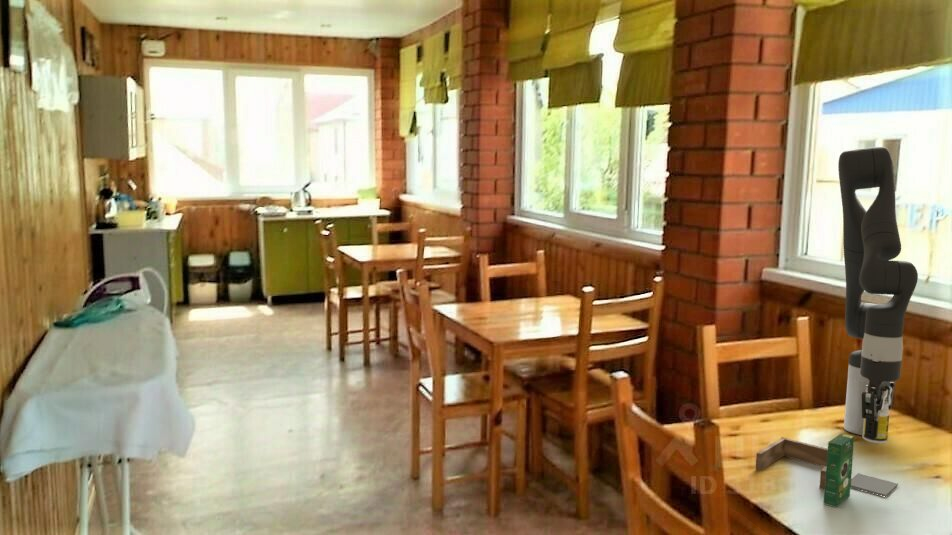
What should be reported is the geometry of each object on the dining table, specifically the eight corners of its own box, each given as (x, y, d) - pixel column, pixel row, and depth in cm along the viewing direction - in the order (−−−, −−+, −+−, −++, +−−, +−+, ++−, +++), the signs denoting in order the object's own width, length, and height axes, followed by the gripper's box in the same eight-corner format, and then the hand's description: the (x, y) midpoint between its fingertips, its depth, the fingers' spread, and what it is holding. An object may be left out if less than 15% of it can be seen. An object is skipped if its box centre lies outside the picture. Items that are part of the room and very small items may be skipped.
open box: (781, 453, 184) (782, 437, 183) (847, 471, 173) (849, 454, 173) (755, 469, 174) (756, 452, 173) (824, 489, 163) (825, 471, 163)
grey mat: (858, 475, 171) (858, 473, 171) (897, 486, 165) (897, 483, 165) (845, 486, 165) (845, 483, 165) (885, 497, 160) (886, 494, 160)
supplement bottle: (890, 444, 161) (893, 405, 160) (865, 443, 162) (868, 404, 161) (883, 437, 166) (886, 399, 165) (859, 435, 167) (862, 397, 166)
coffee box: (836, 491, 162) (841, 431, 161) (850, 495, 160) (855, 435, 159) (822, 503, 157) (826, 441, 155) (837, 508, 155) (841, 445, 153)
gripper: (873, 346, 169) (867, 422, 171) (850, 358, 159) (844, 438, 161) (911, 352, 164) (904, 430, 166) (890, 364, 154) (883, 447, 156)
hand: (875, 433), depth 164 cm, fingers closed on supplement bottle, 4 cm apart
